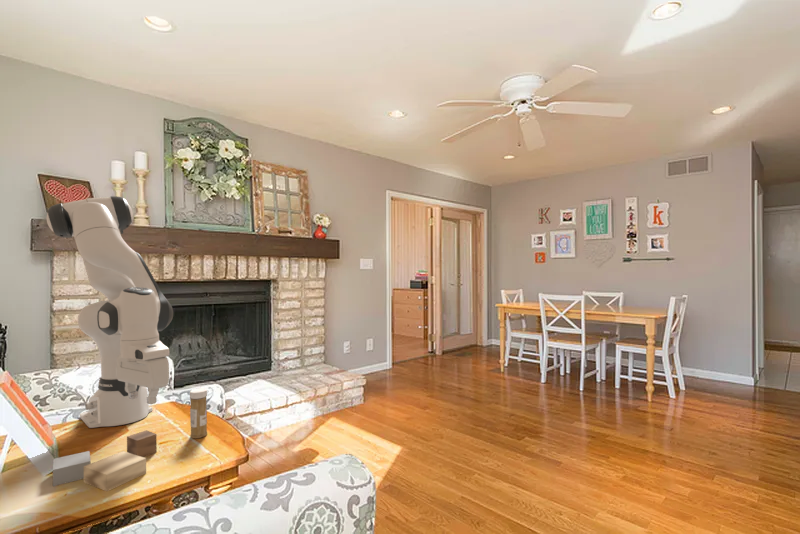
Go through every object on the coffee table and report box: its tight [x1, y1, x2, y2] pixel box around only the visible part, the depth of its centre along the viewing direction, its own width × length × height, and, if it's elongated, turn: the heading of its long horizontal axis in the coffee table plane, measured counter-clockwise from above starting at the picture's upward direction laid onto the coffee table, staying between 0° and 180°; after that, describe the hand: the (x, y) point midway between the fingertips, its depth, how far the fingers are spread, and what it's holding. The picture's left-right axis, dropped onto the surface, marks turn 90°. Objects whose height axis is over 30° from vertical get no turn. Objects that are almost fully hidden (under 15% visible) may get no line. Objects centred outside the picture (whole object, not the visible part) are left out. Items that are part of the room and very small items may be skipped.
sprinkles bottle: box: [189, 388, 208, 439], centre depth 125 cm, size 5×5×14 cm
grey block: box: [52, 450, 92, 487], centre depth 102 cm, size 7×7×4 cm
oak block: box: [83, 450, 147, 492], centre depth 101 cm, size 9×9×4 cm
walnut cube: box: [126, 430, 158, 458], centre depth 114 cm, size 5×5×5 cm
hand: (142, 400), depth 113 cm, fingers open, 8 cm apart
